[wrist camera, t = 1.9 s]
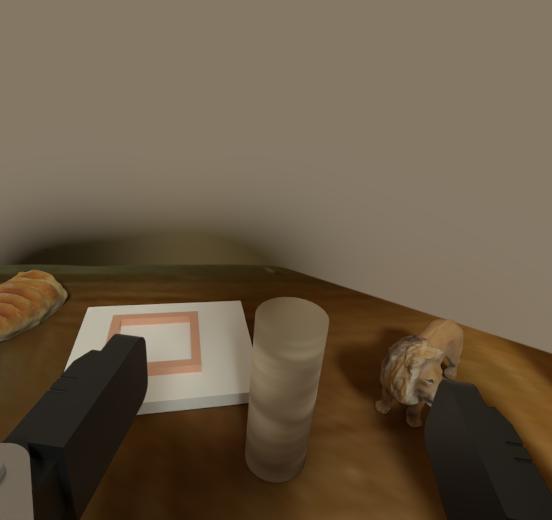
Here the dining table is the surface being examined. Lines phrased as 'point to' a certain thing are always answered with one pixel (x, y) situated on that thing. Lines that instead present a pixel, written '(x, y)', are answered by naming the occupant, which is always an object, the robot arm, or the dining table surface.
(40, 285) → the pastry
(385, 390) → the lion figurine
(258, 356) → the maple pin
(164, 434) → the dining table surface
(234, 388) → the board
